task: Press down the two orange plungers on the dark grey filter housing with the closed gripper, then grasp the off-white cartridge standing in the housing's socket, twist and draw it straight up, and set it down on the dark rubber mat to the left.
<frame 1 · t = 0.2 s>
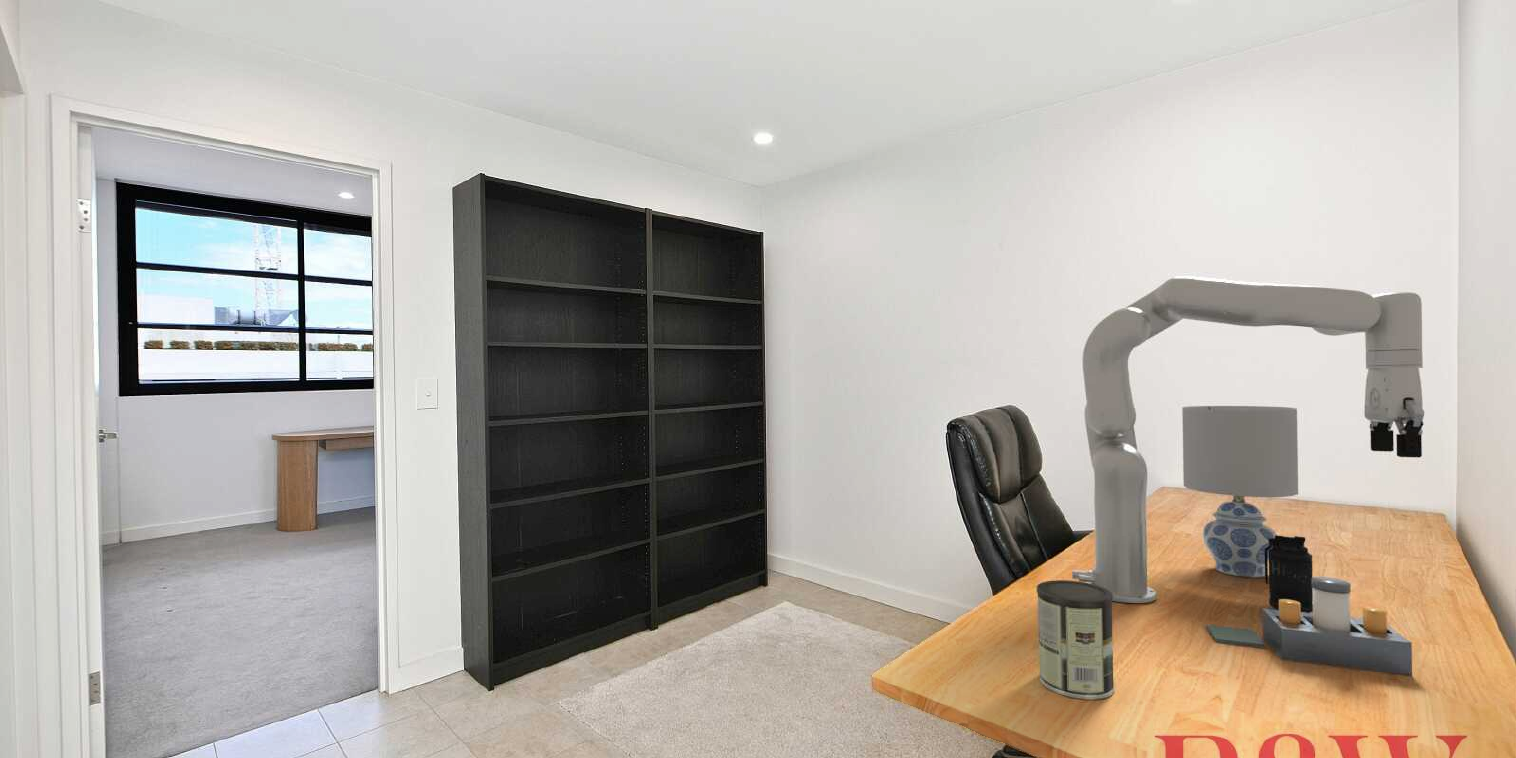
hand: (1395, 453, 121), 31 cm above the table, fingers open, 9 cm apart
lamp: (1239, 572, 153), on the table
plunger left: (1289, 616, 110), point 5 cm above the table, slide at 0.0 cm
cartridge: (1331, 618, 108), in the housing
coffee can: (1075, 685, 99), on the table
plunger right: (1374, 625, 105), point 6 cm above the table, slide at 0.0 cm
mat: (1234, 637, 115), on the table
housing: (1331, 654, 108), on the table
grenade: (1289, 615, 126), on the table
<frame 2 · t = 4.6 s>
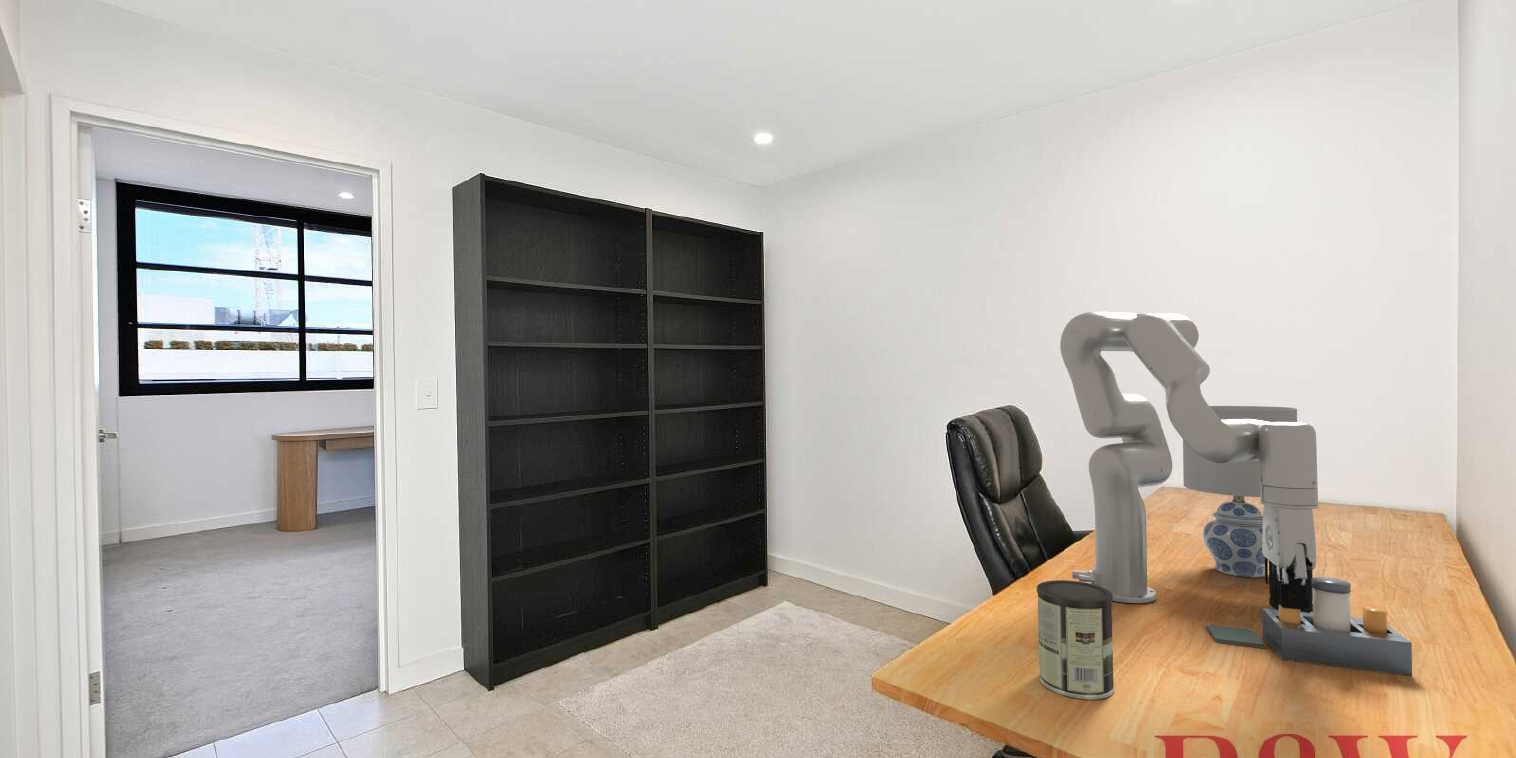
hand: (1291, 607, 109), 7 cm above the table, fingers closed
plunger left: (1289, 621, 110), point 5 cm above the table, slide at 0.8 cm, touching gripper
everything else where it was.
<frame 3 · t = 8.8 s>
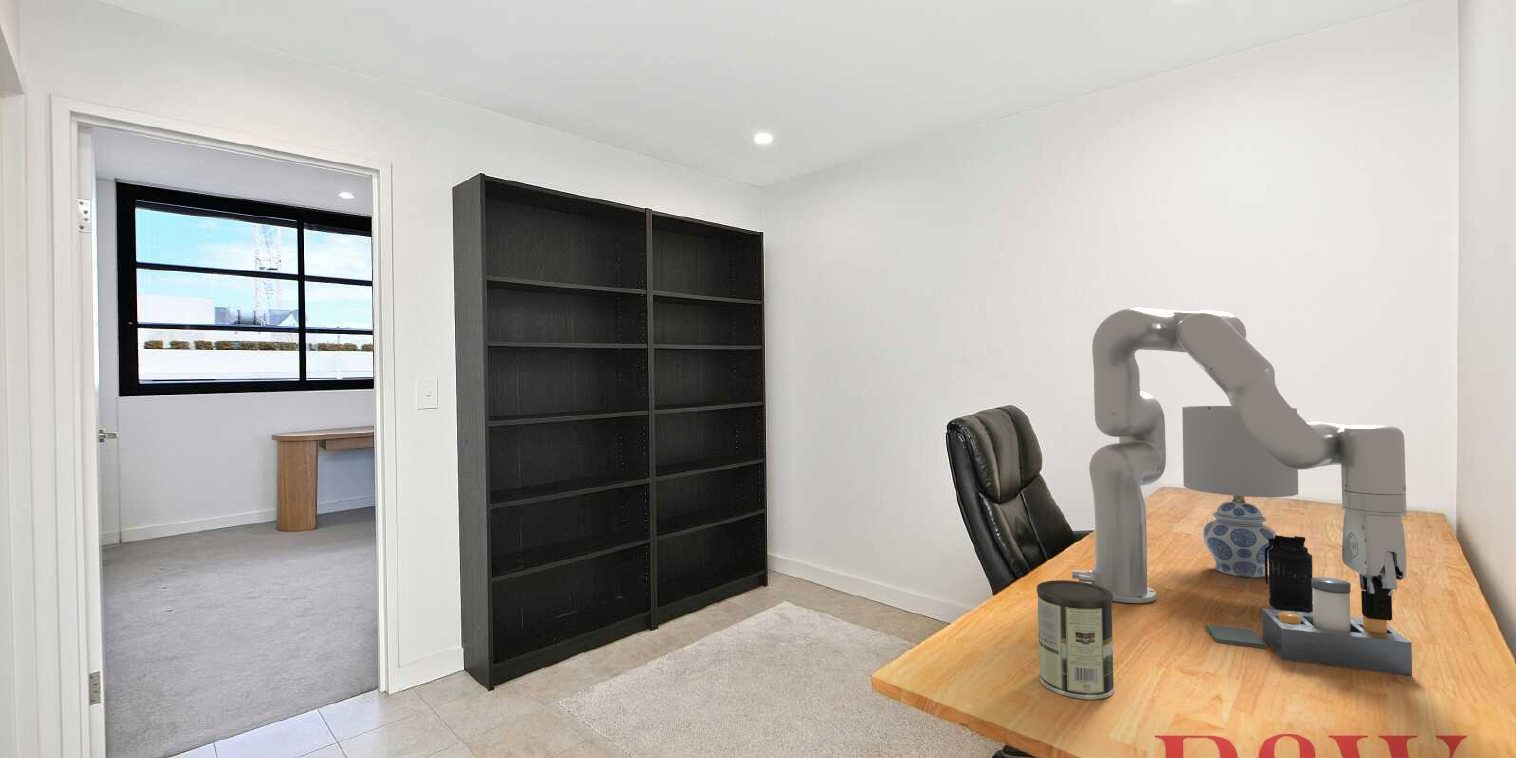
hand: (1376, 617, 105), 7 cm above the table, fingers closed
plunger left: (1289, 629, 110), point 3 cm above the table, slide at 2.2 cm
plunger right: (1374, 633, 105), point 4 cm above the table, slide at 1.2 cm, touching gripper
everything else where it was.
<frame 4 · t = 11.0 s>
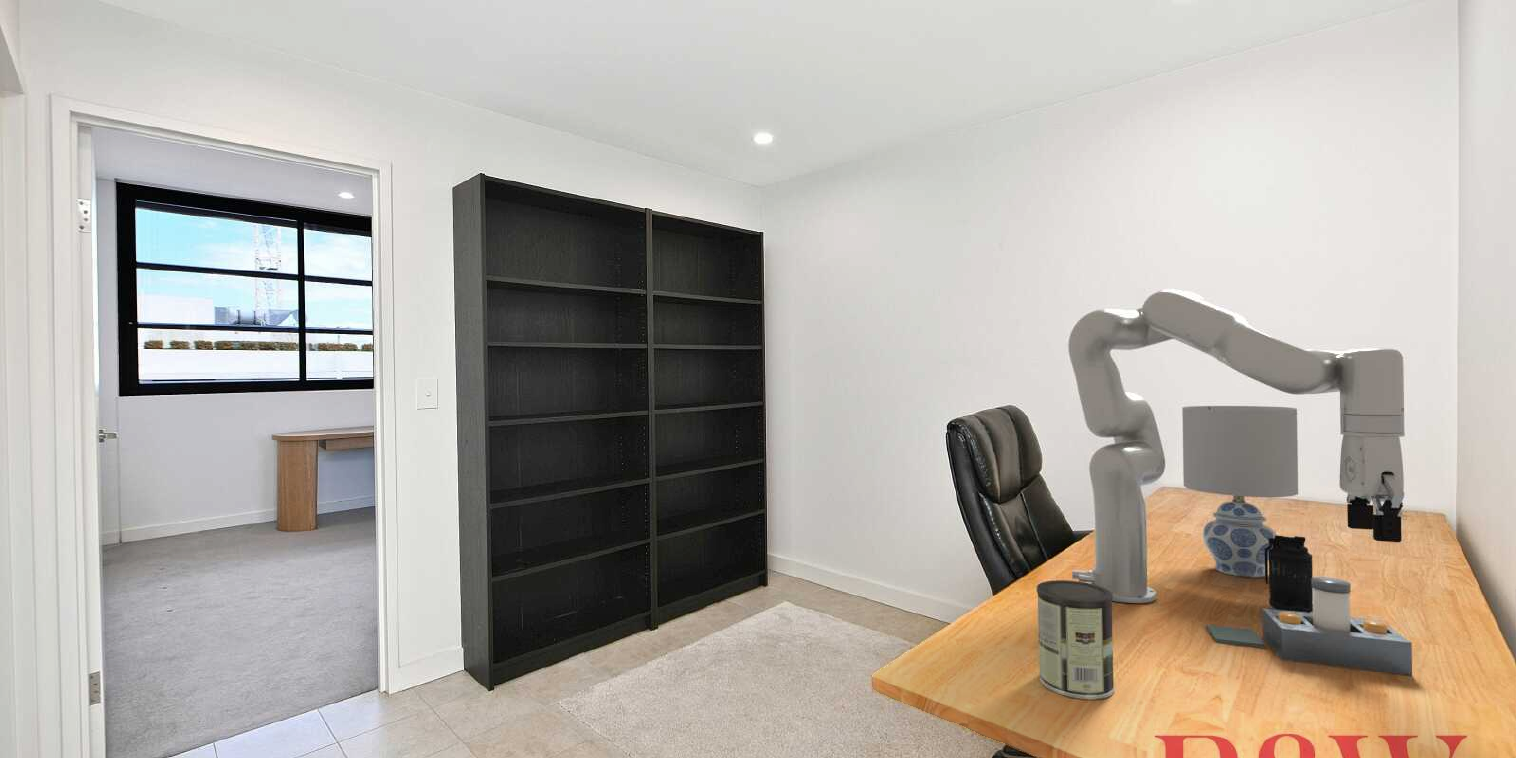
hand: (1373, 534, 105), 20 cm above the table, fingers open, 8 cm apart
plunger right: (1375, 638, 105), point 3 cm above the table, slide at 2.1 cm
everything else where it was.
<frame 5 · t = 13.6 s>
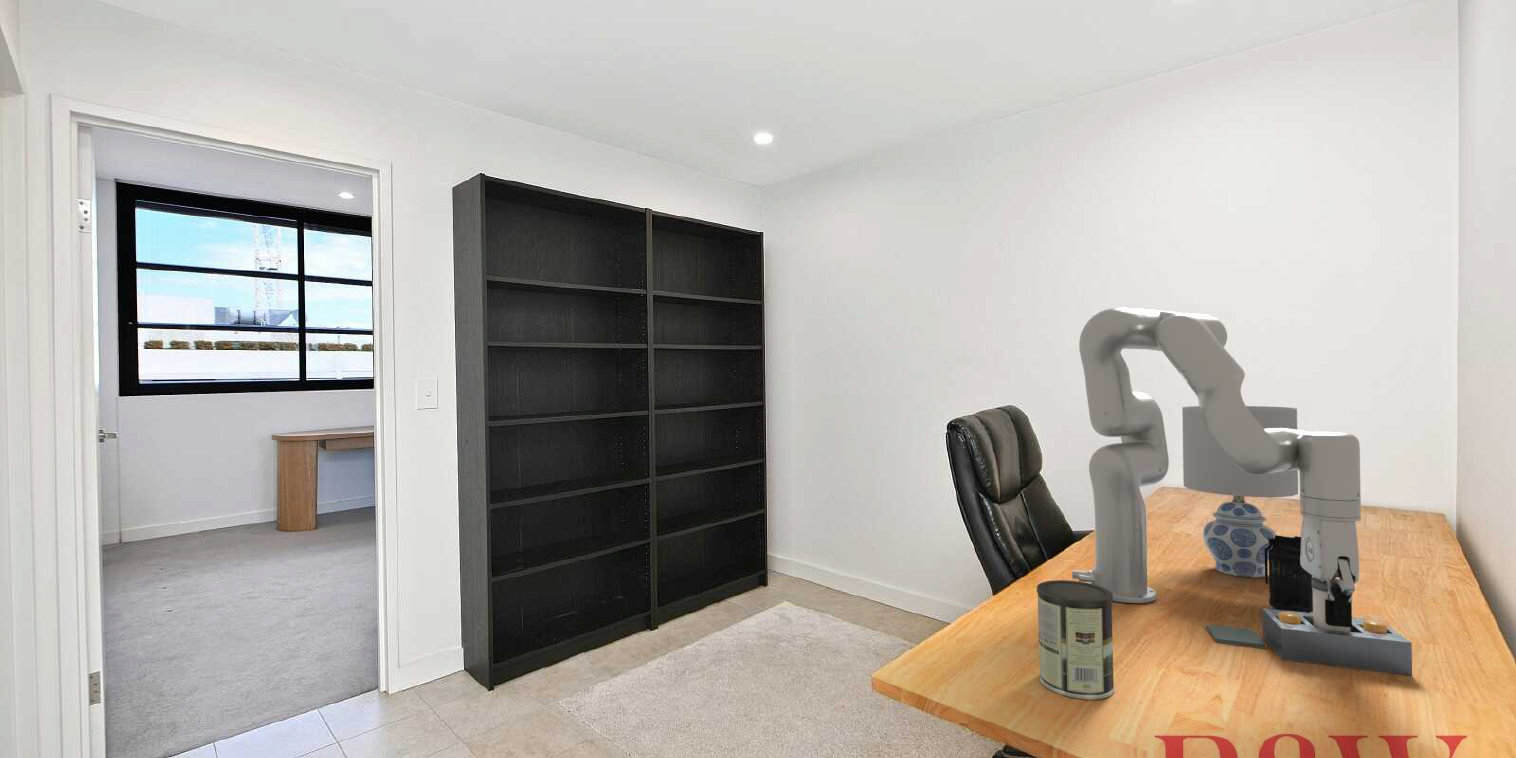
hand: (1331, 618, 107), 6 cm above the table, fingers closed on cartridge, 4 cm apart
cartridge: (1331, 618, 108), in the housing, touching gripper
everything else where it was.
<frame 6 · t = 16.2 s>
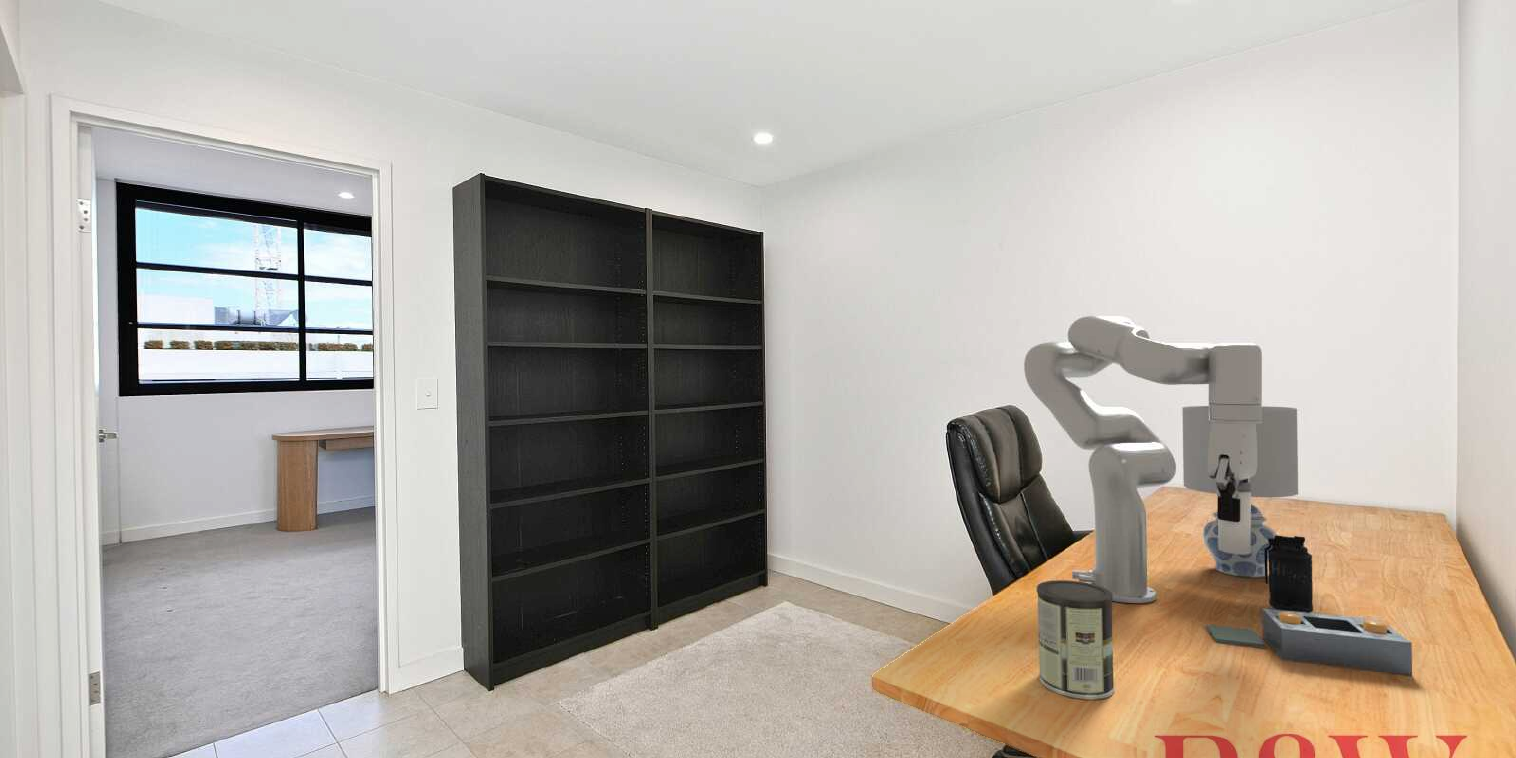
hand: (1234, 517, 115), 21 cm above the table, fingers closed on cartridge, 4 cm apart
cartridge: (1234, 516, 115), point 21 cm above the table, touching gripper
everything else where it was.
when the fingers open (8 cm above the table, at t = 19.1 s): cartridge drops 2 cm, resting on mat.
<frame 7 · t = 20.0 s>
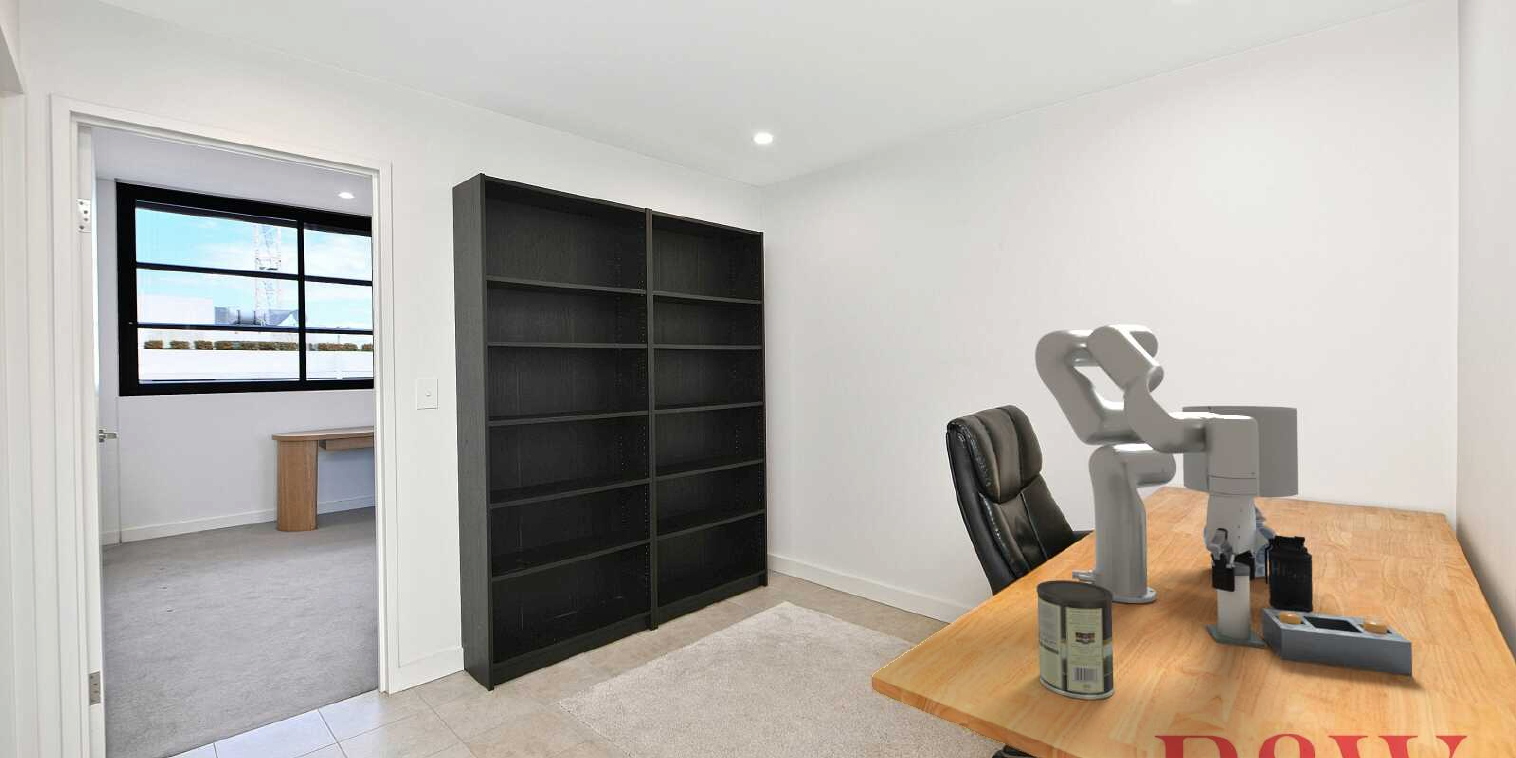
hand: (1233, 584, 115), 9 cm above the table, fingers open, 9 cm apart
cartridge: (1233, 599, 115), on the mat, point 7 cm above the table
everything else where it was.
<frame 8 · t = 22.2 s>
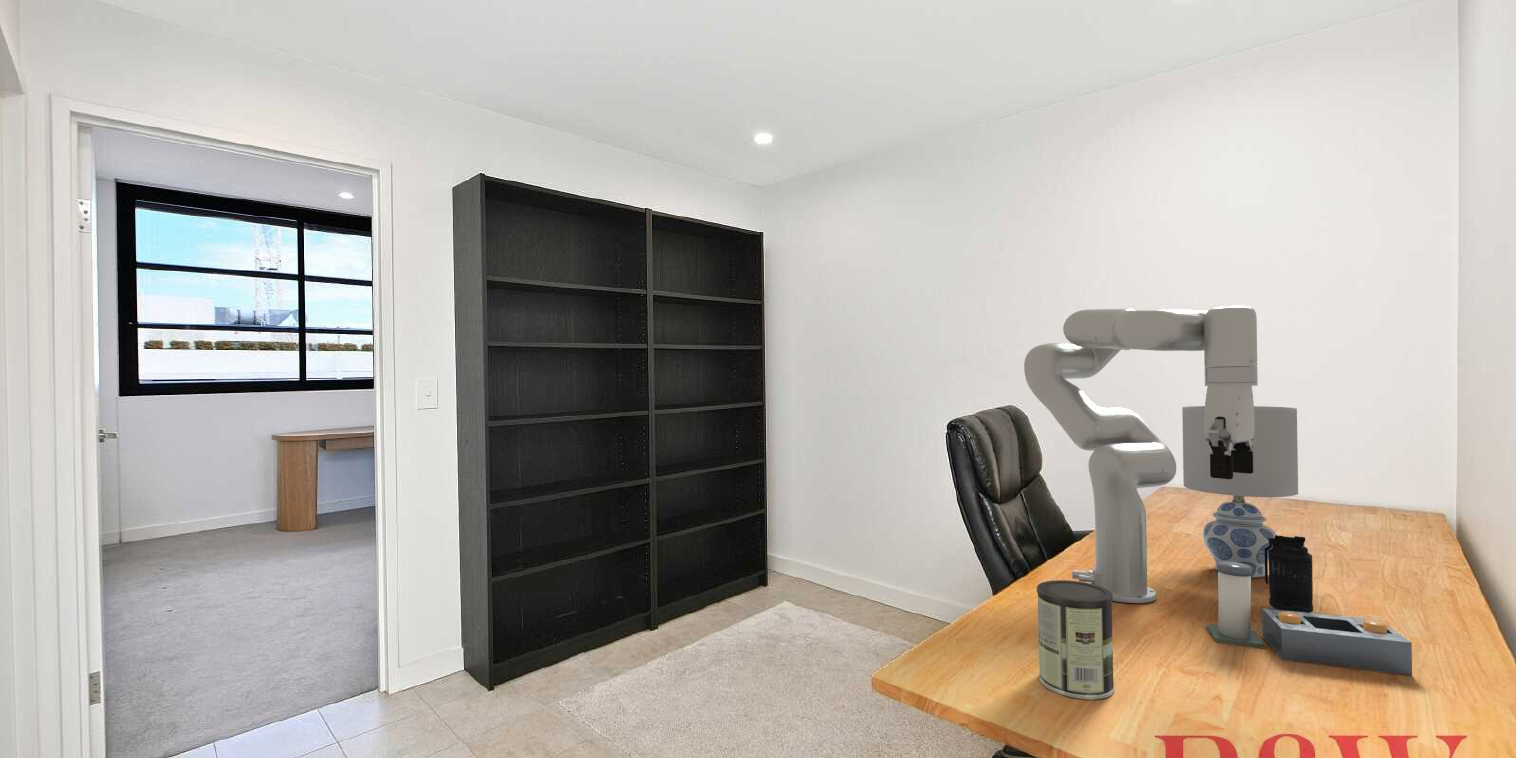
hand: (1232, 475, 115), 28 cm above the table, fingers open, 9 cm apart
nothing on the table moved.
at the end: cartridge 0.1 cm from the mat (horizontally); cartridge tilted 1°; plunger right slide at 2.1 cm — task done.
